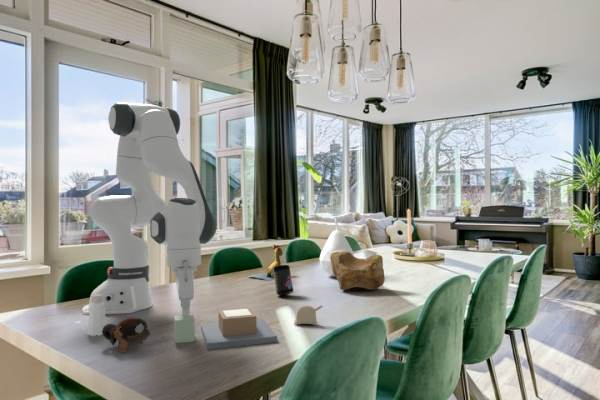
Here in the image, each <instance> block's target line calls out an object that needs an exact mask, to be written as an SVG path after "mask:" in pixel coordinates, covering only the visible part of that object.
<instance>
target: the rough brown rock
mask: <svg viewBox="0 0 600 400" xmlns="http://www.w3.org/2000/svg"><path fill="white" fill-rule="evenodd" d="M330 259H331V266H332V270H333V274H334V275H335V276H336V280H337V282H338V285H339V289H340V290H341V291H342V290H343V291H344V290H350V289H352V288H364V289H366V290H370V291H372V290H373V291H374V290H376V289H377V290H378V289H379V288H381V287H382V286H384V283H385V269H384V263H383V262H384V261H383V260H384V258H383V256H382V255H381V254H373V255H371V256H369V257H366V259H365V258H358V257H355V255H354V256H353V255H352V254H351V253H350V252H347V251H344V252H334V253H332V254H331V257H330Z"/></svg>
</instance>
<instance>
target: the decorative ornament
mask: <svg viewBox="0 0 600 400" xmlns="http://www.w3.org/2000/svg"><path fill="white" fill-rule="evenodd" d="M322 308H323V305H319V306H317V307H315V308H314V307H313V306H311V305H308V304H304V305H301V306H300V307H298V309H297V311H296V315H295V320H294V321H293V322H294V323H293V325H294V326H296V325H301V324H303V325H314V326H318V321H317V313H316V312H317V311H318V310H321V309H322Z"/></svg>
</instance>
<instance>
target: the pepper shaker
mask: <svg viewBox="0 0 600 400" xmlns="http://www.w3.org/2000/svg"><path fill="white" fill-rule="evenodd" d="M90 296H91V295H90ZM91 297H92V304H90V311H89V315H88V322H87V332H86V333H87V334H86V335H87V336H89V335H90V337H95V336H96V335H98V336H103V335H102V330H103V328H104V326H105V325H107V318H106V314H105V308H104V303H102V294H94V295H92V296H91Z"/></svg>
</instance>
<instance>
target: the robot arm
mask: <svg viewBox="0 0 600 400" xmlns="http://www.w3.org/2000/svg"><path fill="white" fill-rule="evenodd" d="M107 120H108V126H109V129H110V131H111V132H112V133H113V134H115V135H117V136H119V139H118V145H117V153H116V154H117V155H116V164H115V165H116V166H115V167H116V168H115V169H116V170H115V176H116V178H117V180H118V181H119V182H120V183H122V184H123V185H125V186H127V187H130V188H131V194H130V195H128V194H127V195H126V194H125V195H105V196H101V197H96V198H95V199H94V200H93V202H92V203H91V205H90V209H89V212H90V213H89V214H90V218H91V220H92V221H93V223H94V224H95V225H96V226H97V227H99V228H100V229H102V231H104V232H105V233H106V234H107V236H108V238H109V240H110V242H111V245H112V253H113V266H109V267H108V268H107V270H106V271H107V279H106V280H105V281H103V282H102V283H101V284H99V285H98V286H97V287H96V288H95V289H93V291H92V292H91V294H90V297H89V302H88V304H86V305H84V306H83V307H82V309H81V313H82V314H83V315H86V316H89V311H90V304H92V297H91V296H92V295H94V294H102V303H104V308H105V315H113V314H114V315H115V314H120V315H121V314H133V313H135V312H138V311H142V310H146V309H148V308H149V309H150V308H151V307H152V306H153V305H154V303H153V300H152V295H151V291H150V283H149V282H150V278H151V277H150V273H151V272H150V271H151V270H150V265H149V263H148V261H149V259H148V258H149V256H148V255H149V253H148V251H149V250H148V248H149V247H148V244H147V242H146V241H145V240H144V239H143V238H141V237H138V236H136V235H134V234H133V233H132V229H131V228H132V227H150V238H152V239H153V240H154V241H155V242H156V243H157V244H158V245H165V246H166V266H167V267H169V268H171V271H172V272H171V273H174V278H175V279H174V280H175V284H176V289H177V296H178V299H179V301H180V307H181V312H182V314H181V315H191V312H190V311H191V310H190V307H191V301H192V300H193V299H194V298H195V284H194V283H195V282H194V273H195V272H197V266H200V265H202V245H206V244H207V243H209V242H210V241H211V240H212V239H213V238H214V236H215V235H216V232H217V221H216V219H215V217H214V214H213V212H212V211H211V208H210V207H209V204H208V200H207V199H206V196H205V193H204V190H203V187H202V184H201V181H200V179H199V176H198V174H197V173H198V172H197V171H196V168H195V166H194V164H193V163H192V162H191V161H190V160H189V159H187V158H186V157H185V155H184V154H183V152H182V150H181V148H180V145H179V139H178V135H179V132H180V128H181V118H180V115H179V114H178V111H176V110H175V109H173V108H169V107H167V106H166V107H162V106H159V105H155V104H149V103H144V104H143V103H128V102H116V103H114V104H113V105H112V106H111V107H110V110H109V112H108V119H107ZM152 173H154V174H156V175H159V176H160V177H164V178H168V179H170V180H172V181H173V182H176V183H177V184H179V185H180V186H181V187H182V188H183V190H184V192H185V196H186V197H176V198H171V199H169V200H168V202H166V201H165V199H164V198H162V196H160V195H159V194H158V193H157V191H156V190H155V188H154V186H153V183H152Z"/></svg>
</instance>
